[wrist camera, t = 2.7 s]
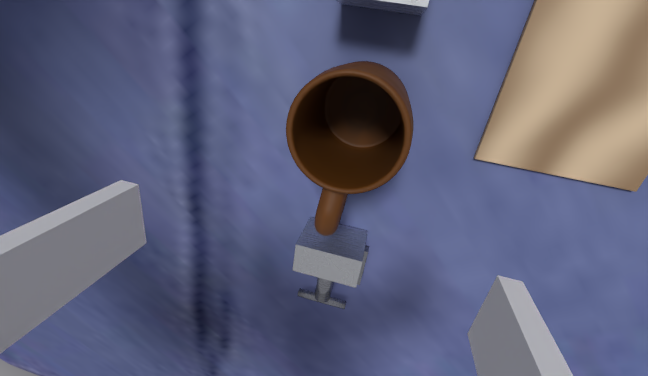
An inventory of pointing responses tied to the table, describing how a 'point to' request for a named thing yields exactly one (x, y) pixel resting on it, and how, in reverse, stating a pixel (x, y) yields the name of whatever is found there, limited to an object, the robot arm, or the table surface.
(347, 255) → the grey angular pieces
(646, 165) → the coaster
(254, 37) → the table surface
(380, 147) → the mug
